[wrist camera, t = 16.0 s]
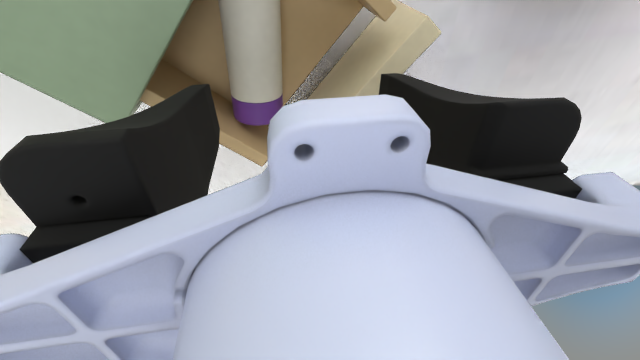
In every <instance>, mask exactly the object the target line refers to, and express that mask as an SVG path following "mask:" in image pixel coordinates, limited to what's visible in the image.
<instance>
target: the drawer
mask: <svg viewBox="0 0 640 360" xmlns="http://www.w3.org/2000/svg"><path fill="white" fill-rule="evenodd" d="M363 6H364V7H365V8H366V9H368V10H369V11H370V12H372V13H373V14H374V15H376V17H375V18H374V19H373V20H372V21H371V23H370V24H369V25H368V26H367V27H366V29H365V30H364V31H363V32H362V33H361V35H360V36H359V37H358V38H357V39H356V41H355V42H354V43H353V44H352V46H351V47H350V48H349V49H348V50H347V52H346V53H345V54H344V55H343V56H342V58H341V59H340V60H339V61H338V62H337V64H336V65H335V66H334V67H333V68H332V70H331V71H330V72H329V73H328V74H327V76H326V77H325V78H324V79H323V81H322V82H321V83H320V84H319V85H318V87H317V88H316V89H315V90H314V91H313V93H312V94H311V95H310V96H309V97H308V99H307V100H309V99H324V98H339V97H355V96H370V95H379V88H380V80H381V74H389V73H399V74H403V73H404V72H405V71H406V70H407V69H408V68H409V67H410V66H411V65H412V64H413V63H414V62H415V60H416V59H417V58H418V57H419V56H420V55H421V54H422V53H423V52H424V51H425V50H426V49H427V48H428V47H429V46H430V45H431V44H432V43H433V42H434V41H435V40H436V38H437V37H438V36H439V35H440V34H441V31H440V30H439V29H438V27H437V26H436V25H435V24H434V22H433V21H432V20H431V19H430V18H429V16H427V15H425V14H423V13H421V12H419V11H417V10H415V9H413V8H411V7H409V6H407V5H405V4H403V3H401V2H399V1H398V0H280V14H281V53H282V93H283V106H284V105H285V104H286V103H287V102H288V100H289V99H290V98H291V97H292V95H293V94H294V93H295V92H296V90H297V89H298V88H299V87H300V85H301V84H302V83H303V82H304V80H305V79H306V78H307V77H308V75H309V74H310V73H311V72H312V70H313V69H314V68H315V67H316V65H317V64H318V63H319V61H320V60H321V59H322V58H323V56H324V55H325V54H326V53H327V51H328V50H329V49H330V48H331V46H332V45H333V44H334V43H335V41H336V40H337V39H338V38H339V36H340V35H341V34H342V33H343V31H344V30H345V29H346V28H347V26H348V25H349V24H350V23H351V21H352V20H353V19H354V18H355V16H356V15H357V14H358V13H359V11H360V10H361V9H362V8H363ZM199 84H209V85H210V89H211V93H212V97H213V101H214V106H215V110H216V114H217V118H218V122H219V126H220V138H219V144H221V145H223V146H225V147H227V148H229V149H231V150H232V151H234V152H236V153H238V154H240V155H242V156H243V157H245V158H247V159H249V160H251V161H253V162H255V163H256V164H258V165H260V166H263V165H264V164H265V163H266V162H267V161H268V156H267V135H268V125H269V124H268V125H260V126H255V125H247V124H243V123H241V122H239V121H237V120H236V118H235V117H234V112H233V105H232V98H231V90H230V83H229V76H228V68H227V61H226V54H225V46H224V39H223V31H222V24H221V17H220V9H219V2H218V0H193V1H192V3H191V5H190V7H189V9H188V11H187V13H186V14H185V16H184V18H183V20H182V22H181V24H180V26H179V27H178V29H177V31H176V33H175V35H174V37H173V39H172V41H171V42H170V44H169V46H168V48H167V50H166V52H165V54H164V55H163V57H162V59H161V61H160V63H159V65H158V67H157V69H156V70H155V72H154V74H153V76H152V78H151V80H150V82H149V83H148V85H147V87H146V89H145V91H144V93H143V95H142V97H141V98H140V101H142V102H144V103H145V104H147V105H149V106H151V107H152V106H154V105H156V104H158V103H160V102H162V101H164V100H165V99H167V98H169V97H171V96H172V95H174V94H176V93H178V92H179V91H181V90H183V89H185V88H187V87H189V86H191V85H199Z"/></svg>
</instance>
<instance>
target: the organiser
mask: <svg viewBox="0 0 640 360" xmlns="http://www.w3.org/2000/svg"><path fill="white" fill-rule="evenodd" d="M192 1H193V0H0V72H1V73H3V74H5V75H7V76H9V77H11V78H13V79H15V80H17V81H19V82H22V83H24V84H26V85H28V86H30V87H32V88H34V89H36V90H38V91H40V92H42V93H44V94H47V95H49V96H51V97H53V98H55V99H57V100H59V101H61V102H63V103H65V104H67V105H69V106H72V107H74V108H76V109H78V110H80V111H82V112H84V113H86V114H88V115H90V116H92V117H94V118H97V119H99V120H101V121H103V122H105V123H109V122H112V121H115V120H119V119H122V118H125V117H128V116H131V115H133V114H134V113H135V111H136V110H137V109H138V107H139V106H140V104H141V103H142V101H140V98H141V97H142V95H143V93H144V91H145V89H146V87H147V85H148V83H149V82H150V80H151V78H152V76H153V74H154V72H155V70H156V69H157V67H158V65H159V63H160V61H161V59H162V57H163V55H164V54H165V52H166V50H167V48H168V46H169V44H170V42H171V41H172V39H173V37H174V35H175V33H176V31H177V29H178V27H179V26H180V24H181V22H182V20H183V18H184V16H185V14H186V13H187V11H188V9H189V7H190V5H191V3H192Z"/></svg>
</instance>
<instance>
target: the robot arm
mask: <svg viewBox="0 0 640 360" xmlns="http://www.w3.org/2000/svg"><path fill="white" fill-rule="evenodd" d="M580 123H581V113H580V109H579V108H578V107H577V105H576V104H574V103H573V102H571V101H569V100H567V99H566V98H540V99H518V98H499V97H489V96H481V95H474V94H469V93H464V92H459V91H454V90H450V89H447V88H443V87H440V86H437V85H434V84H430V83H428V82H425V81H422V80H419V79H416V78H413V77H410V76H407V75H403V74H399V73H389V74H381V80H380V88H379V95H370V96H355V97H339V98H324V99H309V100H301V101H297V102H294V103H291V104H288V105H285V106H283V107H282V108H281V109H280V110H279V111H278V112H277V113H276V114H275V115H274V116H273V117H272V119H271V120H270V124H269V129H268V135H267V156H268V167H267V168H266V169H265V170H264V172H263V173H262V174H260V175H258V176H255V177H252V178H250V179H247V180H245V181H242V182H240V183H237V184H235V185H232V186H230V187H227V188H225V189H222V190H219V191H217V192H214V193H212V194H209V195H208V189H209V183H210V180H211V176H212V172H213V168H214V164H215V160H216V156H217V152H218V148H219V138H220V126H219V122H218V118H217V114H216V110H215V106H214V101H213V97H212V93H211V89H210V85H209V84H199V85H191V86H189V87H187V88H185V89H183V90H181V91H179V92H178V93H176V94H174V95H172V96H171V97H169V98H167V99H165V100H164V101H162V102H160V103H158V104H156V105H154V106H152V107H150V108H148V109H146V110H144V111H141V112H139V113H136V114H134V115H131V116H128V117H125V118H122V119H119V120H115V121H112V122H109V123H105V124H101V125H97V126H93V127H88V128H83V129H78V130H72V131H66V132H58V133H50V134H42V135H31V136H26V137H25V138H24V139H23V140H21V141H20V142H19V143H18V144H17V145H16V146H15V147H13V148H12V149H11V150H10V151H9V152H8V153H7V154H6V155H5V156H4V157H3V158H2V160H1V161H0V183H1V184H2V186H3V187H4V189H5V190H6V192H7V193H8V195H9V196H10V197H11V198H12V199H13V200H14V201H15V203H16V204H17V205H18V206H19V207H20V208H21V209H22V211H23V212H24V213H25V214H26V215H27V216H28V217H29V219H30V220H31V221H32V222H33V223H34V224H35V226H37V227H36V228H35V230H34V231H33V232H32V234H31V235H30V236H29V238H28V237H27V236H24V235H21V234H1V235H0V360H569V359H568V357H567V356H566V355H565V353H564V352H563V350H562V349H561V348H560V346H559V345H558V344H557V342H556V341H555V339H554V338H553V336H552V335H551V334H550V332H549V331H548V329H547V328H546V327H545V325H544V324H543V322H542V321H541V320H540V318H539V317H538V315H537V314H536V313H535V311H534V310H533V308H532V307H531V306H533V305H536V304H540V303H543V302H547V301H550V300H553V299H557V298H560V297H564V296H567V295H571V294H575V293H578V292H582V291H586V290H590V289H595V288H599V287H604V286H609V285H615V284H621V283H627V282H631V281H633V280H634V279H635V278H637V277H638V276H639V275H640V191H639V190H638V189H636V188H635V187H633V186H632V185H631V184H629V183H628V182H626V181H625V180H623V179H622V178H620V177H619V176H618V175H616V174H615V173H613V172H606V173H597V174H587V175H581V176H578V177H576V178H575V179H573V180H571V179H569V178H568V177H567V176H566V175H565V174H563V173H566V172H567V171H568V167H567V166H566V165H565V164H563V163H562V162H561V160H562V158H563V156H564V155H565V153H566V151H567V150H568V148H569V147H570V145H571V143H572V142H573V140H574V138H575V136H576V134H577V132H578V130H579V128H580Z"/></svg>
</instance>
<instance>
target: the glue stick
mask: <svg viewBox="0 0 640 360" xmlns="http://www.w3.org/2000/svg"><path fill="white" fill-rule="evenodd" d="M218 2H219V9H220V17H221V24H222V31H223V39H224V46H225V54H226V61H227V68H228V76H229V83H230V90H231V98H232V105H233V112H234V117H235V118H236V120H237V121H239V122H241V123H243V124H247V125H255V126H260V125H268V124H270V120H271V119H272V117H273V116H274V115H275V114H276V113H277V112H278V111H279V110H280V109H281V108H282V107H283V93H282V53H281V14H280V0H218Z"/></svg>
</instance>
